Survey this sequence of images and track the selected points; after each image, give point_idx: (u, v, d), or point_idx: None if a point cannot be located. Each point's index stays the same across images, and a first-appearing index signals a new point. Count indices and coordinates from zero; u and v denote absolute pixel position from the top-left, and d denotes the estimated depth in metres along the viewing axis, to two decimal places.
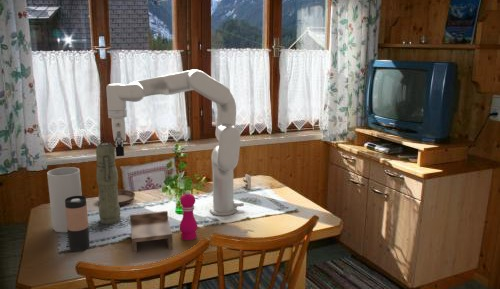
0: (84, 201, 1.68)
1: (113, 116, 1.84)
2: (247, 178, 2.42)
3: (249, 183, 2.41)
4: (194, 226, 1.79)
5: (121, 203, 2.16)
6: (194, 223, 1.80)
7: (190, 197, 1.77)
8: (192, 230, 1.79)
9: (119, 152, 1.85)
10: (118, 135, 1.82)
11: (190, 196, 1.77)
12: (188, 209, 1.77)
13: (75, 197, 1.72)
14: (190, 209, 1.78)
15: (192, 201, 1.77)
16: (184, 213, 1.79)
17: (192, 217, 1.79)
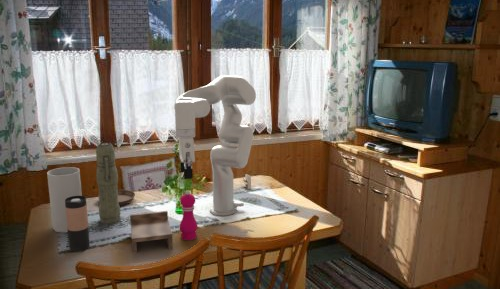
0: (84, 201, 1.68)
1: (182, 136, 1.69)
2: (247, 178, 2.42)
3: (249, 183, 2.41)
4: (194, 226, 1.79)
5: (121, 203, 2.16)
6: (194, 223, 1.80)
7: (190, 197, 1.77)
8: (192, 230, 1.79)
9: (188, 175, 1.70)
10: (188, 156, 1.68)
11: (190, 196, 1.77)
12: (188, 209, 1.77)
13: (75, 197, 1.72)
14: (190, 209, 1.78)
15: (192, 201, 1.77)
16: (184, 213, 1.79)
17: (192, 217, 1.79)
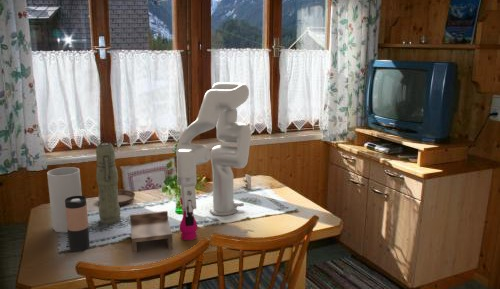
0: (84, 201, 1.68)
1: (184, 184, 1.73)
2: (247, 178, 2.42)
3: (249, 183, 2.41)
4: (194, 226, 1.79)
5: (121, 203, 2.16)
6: (194, 223, 1.80)
7: None
8: (192, 230, 1.79)
9: (189, 222, 1.77)
10: (189, 206, 1.73)
11: None
12: None
13: (75, 197, 1.72)
14: None
15: None
16: (184, 213, 1.79)
17: None
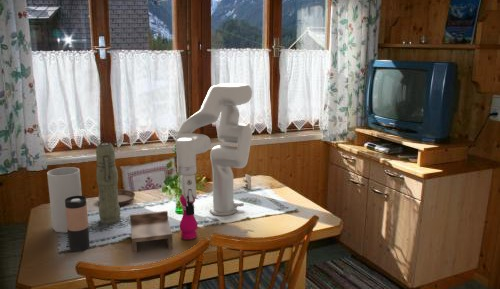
0: (84, 201, 1.68)
1: (184, 173, 1.73)
2: (247, 178, 2.42)
3: (249, 183, 2.41)
4: (194, 225, 1.79)
5: (121, 203, 2.16)
6: (194, 222, 1.80)
7: None
8: (192, 229, 1.79)
9: (189, 211, 1.76)
10: (190, 196, 1.72)
11: None
12: None
13: (75, 197, 1.72)
14: None
15: None
16: (184, 212, 1.79)
17: (192, 216, 1.80)
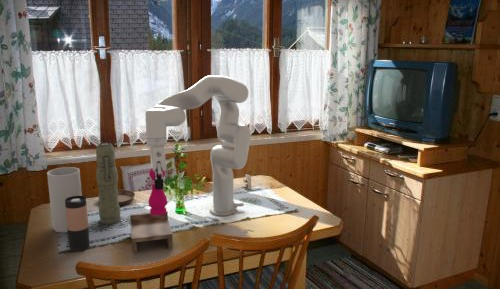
0: (84, 201, 1.68)
1: (153, 144, 1.67)
2: (247, 178, 2.42)
3: (249, 183, 2.41)
4: (163, 200, 1.72)
5: (121, 203, 2.16)
6: (163, 197, 1.73)
7: None
8: (161, 204, 1.72)
9: (158, 185, 1.70)
10: (158, 168, 1.66)
11: None
12: None
13: (75, 197, 1.72)
14: None
15: None
16: (153, 186, 1.72)
17: (161, 191, 1.73)
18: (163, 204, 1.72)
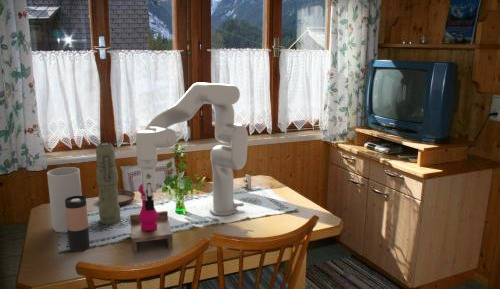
0: (84, 201, 1.68)
1: (143, 166, 1.67)
2: (247, 178, 2.42)
3: (249, 183, 2.41)
4: (154, 215, 1.73)
5: (121, 203, 2.16)
6: (154, 212, 1.73)
7: None
8: (151, 220, 1.72)
9: (149, 206, 1.71)
10: (149, 190, 1.67)
11: None
12: None
13: (75, 197, 1.72)
14: None
15: None
16: (143, 202, 1.73)
17: None
18: (153, 219, 1.73)
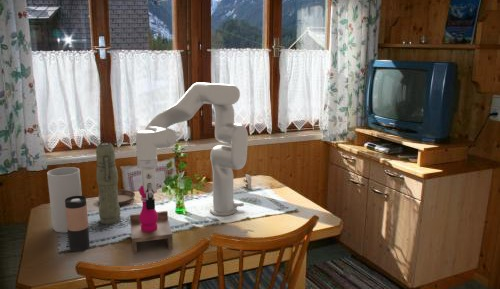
0: (84, 201, 1.68)
1: (143, 166, 1.68)
2: (247, 178, 2.42)
3: (249, 183, 2.41)
4: (154, 217, 1.73)
5: (121, 203, 2.16)
6: (154, 214, 1.73)
7: None
8: (152, 221, 1.72)
9: (150, 205, 1.69)
10: (149, 188, 1.66)
11: None
12: None
13: (75, 197, 1.72)
14: None
15: None
16: (143, 204, 1.72)
17: None
18: (154, 221, 1.72)
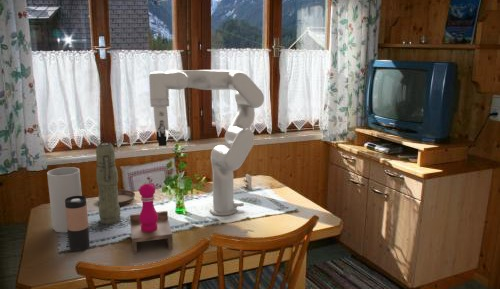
0: (84, 201, 1.68)
1: (156, 105, 1.80)
2: (248, 178, 2.42)
3: (250, 183, 2.41)
4: (154, 217, 1.73)
5: (121, 203, 2.16)
6: (154, 214, 1.73)
7: (149, 187, 1.70)
8: (152, 221, 1.72)
9: (162, 142, 1.81)
10: (161, 124, 1.78)
11: (149, 186, 1.71)
12: (147, 199, 1.71)
13: (75, 197, 1.72)
14: (149, 199, 1.71)
15: (151, 191, 1.70)
16: (143, 204, 1.72)
17: (152, 208, 1.73)
18: (154, 221, 1.72)
